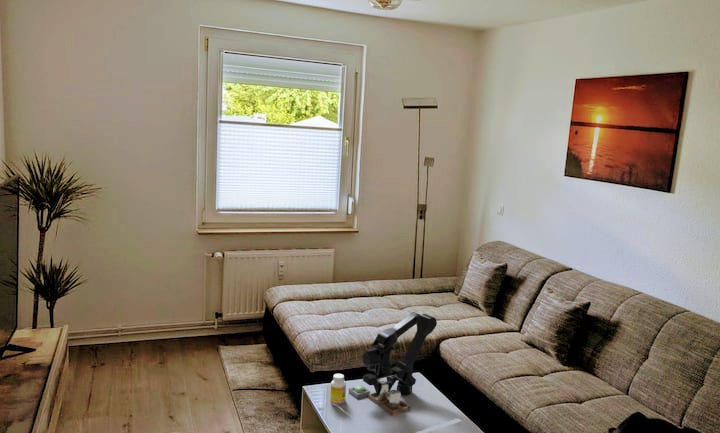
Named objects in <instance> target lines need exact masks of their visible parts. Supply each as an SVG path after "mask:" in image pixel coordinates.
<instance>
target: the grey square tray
mask: <svg viewBox="0 0 720 433" xmlns="http://www.w3.org/2000/svg"><path fill="white" fill-rule="evenodd" d="M359 386H363V387H364V392H361V393H357V392H355V386H354V387H349V388H348V395H352V396H353V397H354V398H355V399H358V400H359V399H361V398H364V397H368V394H371V390H370V389H368V388H366V386H364V385H362V384H361V385H359Z"/></svg>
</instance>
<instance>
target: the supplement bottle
mask: <svg viewBox="0 0 720 433" xmlns="http://www.w3.org/2000/svg"><path fill="white" fill-rule="evenodd" d="M346 389H347V382H346V381H345V375H344V374H342V373H335V374H333V377H332V381H331V382H330V397H329V398H330V399H329V402H330V405H332V406H336V407H339V405H344V404H345V403H346V394H347V393H346V392H347V390H346Z"/></svg>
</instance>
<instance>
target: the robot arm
mask: <svg viewBox="0 0 720 433" xmlns="http://www.w3.org/2000/svg"><path fill="white" fill-rule="evenodd" d="M437 323H438V321H437V318H436V317H434V316H432V315H430V314H427V313H421V314H420V313H416V312H415V311H414V312H413V311H412V312H410V313H409V315H407V316H406V317H405V318H403V319H402V320H400V321H399V322H398V323H396V324H395V325H393V326H392V327H391V328H387V329H386V328H385V329H383V330H381V331H380V332H378V333H377V335H376V338H375V339H374V341H373V342H372V344H371V348H369V349H365V352H364V353H363V354H362V356H361V358H362V363H363V364H364V365H365V366H366V369H367V370H368V371H370V373H367V374H364V375H363V376H362V382H364V383H365V384H367V385H369V386H373V388H374V390H375V392H376V394H377V395H378V396H379V394H380V388H381V383H380V382H379V381H381V379H382V380H383V379H386V381H387V382H389V391H391V390H392V389H393V387H394V384H396V382H397V385H396V390H398V391H400V392H401V396H409V395H411V394H412V393H413V386H414V385H415V384H416V382H417V379H416V378H415V377H414V376H413V374H414V364H415V362H416V359H417V357H418V355H419V353H420V350H421V349H422V346H423V345H424V342H425V340H426V338H427V336H428V335H430V334H432V333H433V332H434V330H435V328H436V326H437ZM415 325H416V332H415V334H414V337H413V338H412V341H411V342H410V345H409V346H408V348H407V351H406V353H405V355H404V357H403V359H402V360H397V361H396V362H395V364H394V366H393V363H392V362H391V361H392V352H393V351H395V350H396V348H395V347H394V345H395V344H396V343H397V342H398V339H399V337H401V336H402V335H403V334H405V333H406V332H407V331H409V330H410V329H411V328H412V327H414V326H415ZM371 372H374V374H373V373H371Z"/></svg>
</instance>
